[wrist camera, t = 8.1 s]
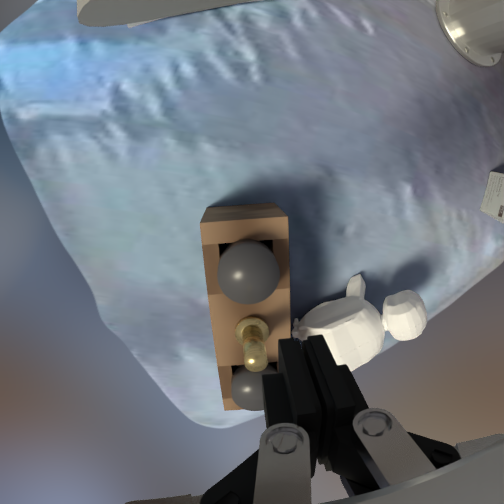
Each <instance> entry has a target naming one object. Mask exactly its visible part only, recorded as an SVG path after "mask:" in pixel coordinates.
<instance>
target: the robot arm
mask: <svg viewBox="0 0 504 504" xmlns="http://www.w3.org/2000/svg"><path fill="white" fill-rule="evenodd" d="M436 12H437V17H438V20H439V23H440V25H441V27H442V29H443V31H444V33H445V35H446V36H447V38H448V40H449V41H450V42H451V44H452V45H453V46H454V48H455V49H456V50H457V51H458V52H459V53H460V54H461V55H462V56H463V57H464V58H465V59H467V60H468V61H470V62H471V63H473V64H475V65H477V66H480V67H490V66H493V65H495V64H497V63H498V61H499V60H500V58H501V55H502V52H504V0H436ZM278 365H279V373H274V374H264V375H262V393H263V404H264V412H265V420H266V427H267V429H266V430H265V431H264V432H263V434H262V435H261V438H260V445H259V449H258V450H257V451H256V452H255V453H253V454H252V455H251V456H250V457H249V458H247V459H246V460H245V461H244V462H243V463H241V464H240V465H239V466H238V467H237V468H235V469H234V470H233V471H232V472H230V473H229V474H228V475H227V476H225V477H224V478H223V479H222V480H220V481H219V482H218V483H217V484H215V485H214V486H212V487H211V488H210V489H208V490H207V491H206V492H205V494H203V495H199V496H191V494H188V495H182V496H175V497H167V498H158V499H149V500H136V501H130V502H127V503H125V504H312V503H311V478H312V477H313V476H314V473H315V466H316V460H317V459H318V462H319V464H320V465H321V464H324V465H325V469H326V471H331V470H332V471H333V472H334V473H336V474H338V475H340V479H341V482H342V484H343V486H344V488H345V490H346V492H347V494H348V496H349V498H345V499H340V500H335V501H330V502H325V503H320V504H504V434H495V435H491V436H487V437H483V438H479V439H475V440H470V441H466V442H461V443H457V444H456V446H454V447H453V446H451V445H449V444H446V443H443V442H439V441H436V440H432V439H429V438H426V437H423V436H420V435H416V434H413V433H410V432H407V431H406V430H405V429H404V428H403V427H402V425H401V424H400V423H399V422H398V421H397V419H396V418H395V417H394V416H393V415H392V414H391V413H390V412H388V411H386V410H383V409H379V408H370V409H369V407H368V405H367V403H366V401H365V399H364V397H363V395H362V393H361V391H360V389H359V387H358V385H357V383H356V381H355V379H354V377H353V375H352V373H351V371H350V369H349V367H348V366H347V365H346V364H343V365H337V364H336V362H335V360H334V358H333V355H332V353H331V351H330V349H329V347H328V345H327V343H326V341H325V338H324V336H323V335H322V334H320V335H312V336H308V337H307V340H303V341H302V348H301V346H300V343H299V341H294V339H293V338H285V339H278Z"/></svg>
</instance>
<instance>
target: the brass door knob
mask: <svg viewBox="0 0 504 504" xmlns="http://www.w3.org/2000/svg"><path fill="white" fill-rule="evenodd" d="M235 337H236V339H237V341H238V342H239V343H240V344H241V345H243V353H244V365H245V367H246V368H247V369H248V370H249V371H252V372H259V371H262V370H263V369H265V368H266V367H267V365H268V359H267V354H266V349H265V342H266V340H267V339H268V337H269V328H268V325H267V323H266V321H265V320H264V319H262V318H261V317H258V316H247V317H244V318H242V319H241V320H240V321H239V322H238V323H237V324H236V327H235Z"/></svg>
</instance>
